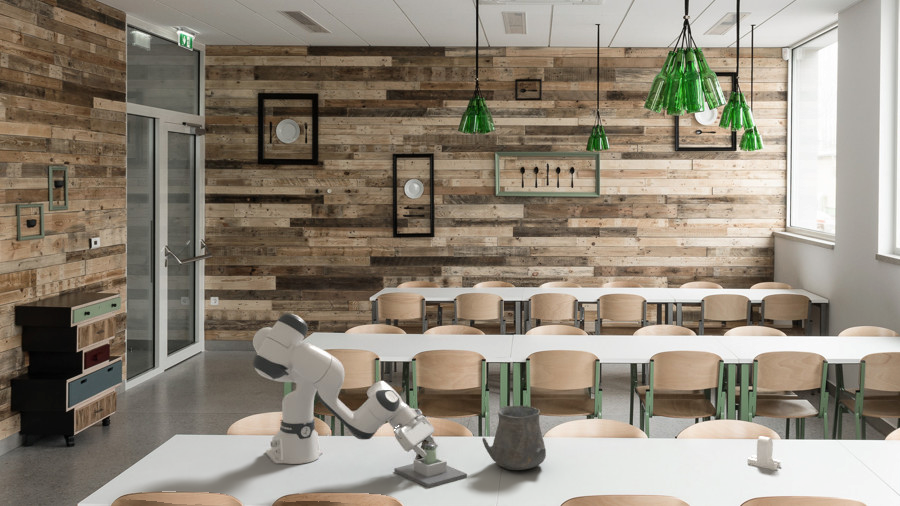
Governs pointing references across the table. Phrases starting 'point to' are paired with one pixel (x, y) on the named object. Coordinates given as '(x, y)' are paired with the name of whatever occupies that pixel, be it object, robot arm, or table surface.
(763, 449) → the cable organizer
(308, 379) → the robot arm
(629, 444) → the table surface
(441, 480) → the docking plate
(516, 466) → the vessel
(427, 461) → the green cylinder
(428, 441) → the brown wooden log
